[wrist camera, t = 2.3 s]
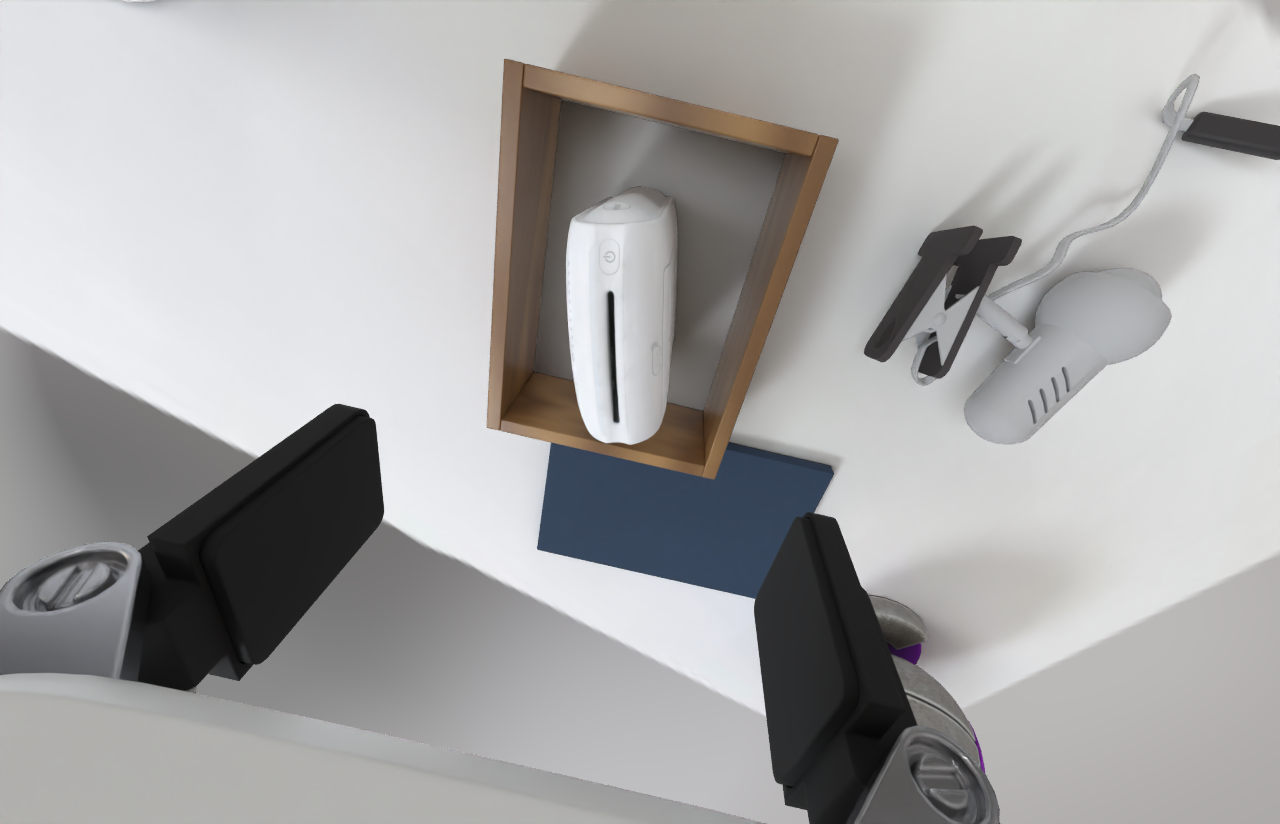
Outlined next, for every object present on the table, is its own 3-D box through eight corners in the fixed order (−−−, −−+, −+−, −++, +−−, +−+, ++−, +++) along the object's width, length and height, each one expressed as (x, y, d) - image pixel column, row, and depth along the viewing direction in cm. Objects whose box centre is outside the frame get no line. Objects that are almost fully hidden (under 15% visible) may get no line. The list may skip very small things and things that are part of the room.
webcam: (885, 694, 46) (959, 909, 33) (757, 669, 46) (781, 873, 34) (951, 610, 40) (1074, 836, 27) (801, 581, 40) (852, 792, 27)
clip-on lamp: (1082, 45, 24) (837, 338, 28) (1226, -35, 18) (884, 355, 22) (1238, 191, 25) (980, 448, 30) (1422, 164, 19) (1062, 492, 24)
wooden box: (521, 379, 33) (486, 428, 27) (548, 77, 24) (503, 58, 19) (711, 423, 33) (714, 480, 28) (806, 139, 24) (839, 139, 19)
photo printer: (603, 183, 26) (540, 212, 16) (680, 183, 26) (670, 213, 15) (610, 355, 31) (567, 465, 21) (675, 357, 31) (665, 470, 20)
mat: (540, 541, 41) (536, 549, 40) (558, 402, 34) (555, 409, 33) (765, 592, 41) (767, 601, 40) (831, 465, 34) (834, 474, 33)
